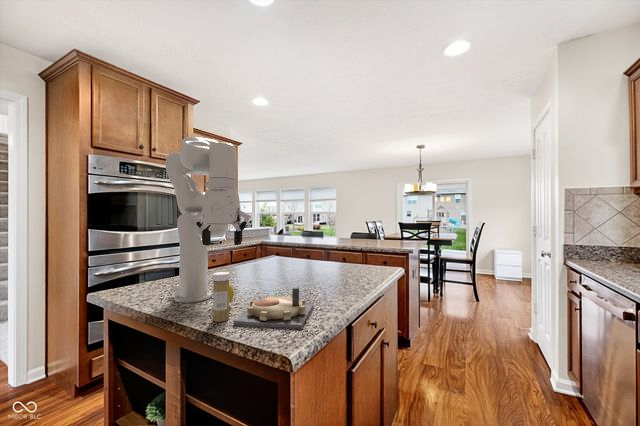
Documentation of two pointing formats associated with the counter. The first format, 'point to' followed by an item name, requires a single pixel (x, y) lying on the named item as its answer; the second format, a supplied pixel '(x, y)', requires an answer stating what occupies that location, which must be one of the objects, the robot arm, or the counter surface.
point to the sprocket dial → (277, 307)
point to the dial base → (275, 320)
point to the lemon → (231, 293)
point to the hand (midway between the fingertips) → (222, 244)
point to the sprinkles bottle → (221, 296)
